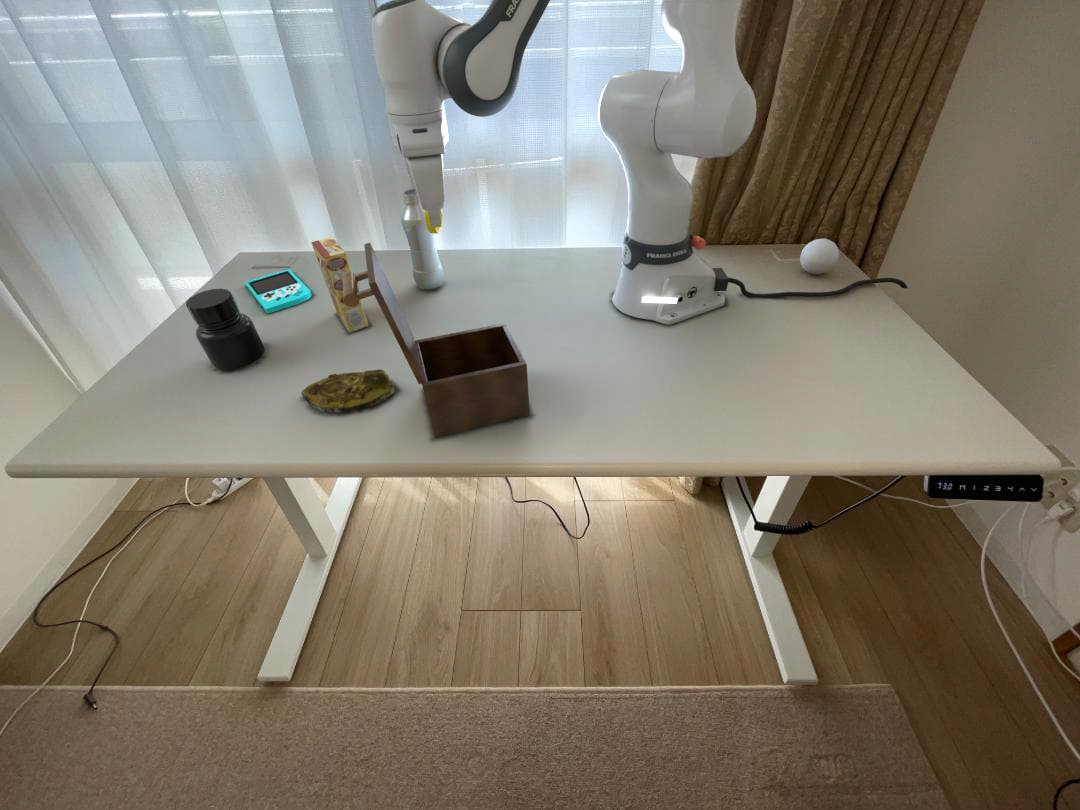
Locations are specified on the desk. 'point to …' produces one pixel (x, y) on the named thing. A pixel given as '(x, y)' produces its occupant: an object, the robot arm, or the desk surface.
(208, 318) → the ink bottle
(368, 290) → the lid
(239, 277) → the desk surface
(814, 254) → the white egg
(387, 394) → the mossy rock
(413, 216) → the plastic bottle
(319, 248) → the candy box
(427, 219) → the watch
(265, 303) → the handheld game console
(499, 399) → the chest
